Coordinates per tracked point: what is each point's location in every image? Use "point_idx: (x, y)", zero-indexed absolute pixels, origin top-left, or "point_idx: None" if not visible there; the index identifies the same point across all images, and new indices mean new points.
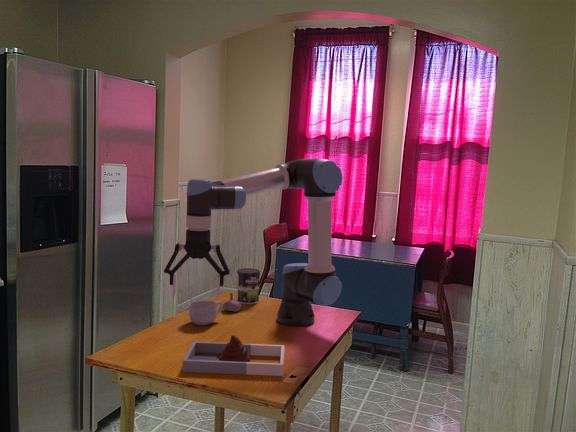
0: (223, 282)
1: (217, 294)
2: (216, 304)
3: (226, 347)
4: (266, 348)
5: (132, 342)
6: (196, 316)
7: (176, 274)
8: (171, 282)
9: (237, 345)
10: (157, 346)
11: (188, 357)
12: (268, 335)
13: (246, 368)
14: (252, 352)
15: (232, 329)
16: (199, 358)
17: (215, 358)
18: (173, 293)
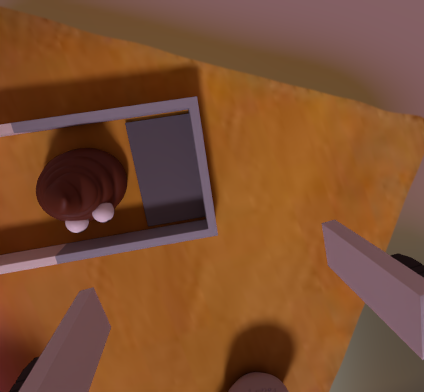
0: (13, 386)
1: (84, 297)
2: None
3: (89, 177)
4: (14, 260)
5: (370, 236)
6: (267, 385)
7: (421, 340)
8: (404, 264)
9: (50, 182)
10: (307, 231)
11: (192, 128)
12: None
13: None
14: (59, 247)
15: (171, 375)
16: (183, 185)
17: (143, 195)
18: (340, 225)
